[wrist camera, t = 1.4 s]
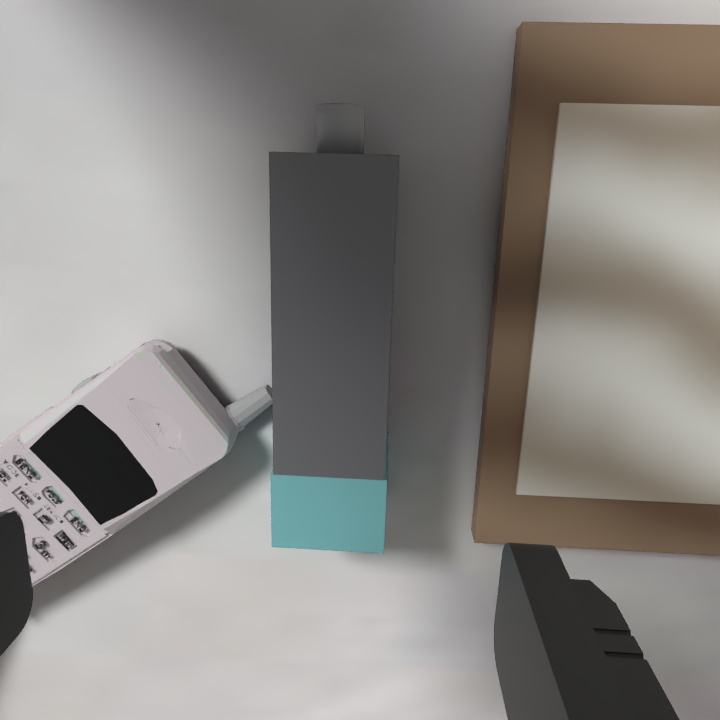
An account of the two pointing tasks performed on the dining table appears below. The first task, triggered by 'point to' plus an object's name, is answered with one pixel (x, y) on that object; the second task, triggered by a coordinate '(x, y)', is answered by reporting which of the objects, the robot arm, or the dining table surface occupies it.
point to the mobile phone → (114, 452)
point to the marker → (331, 336)
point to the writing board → (606, 295)
